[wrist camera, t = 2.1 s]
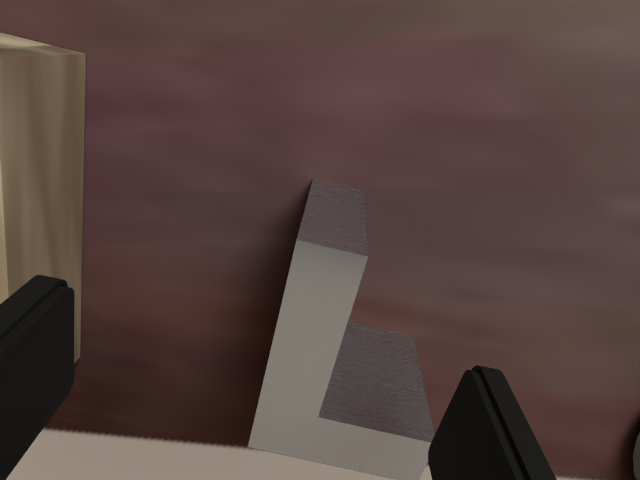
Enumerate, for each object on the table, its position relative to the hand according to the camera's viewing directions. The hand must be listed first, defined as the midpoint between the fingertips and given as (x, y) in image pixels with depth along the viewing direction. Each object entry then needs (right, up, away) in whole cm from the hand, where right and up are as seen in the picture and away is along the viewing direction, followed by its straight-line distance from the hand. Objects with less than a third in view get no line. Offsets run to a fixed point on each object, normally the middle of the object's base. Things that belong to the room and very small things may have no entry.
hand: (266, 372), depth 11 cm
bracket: (+3, +1, +9) cm, 9 cm away
